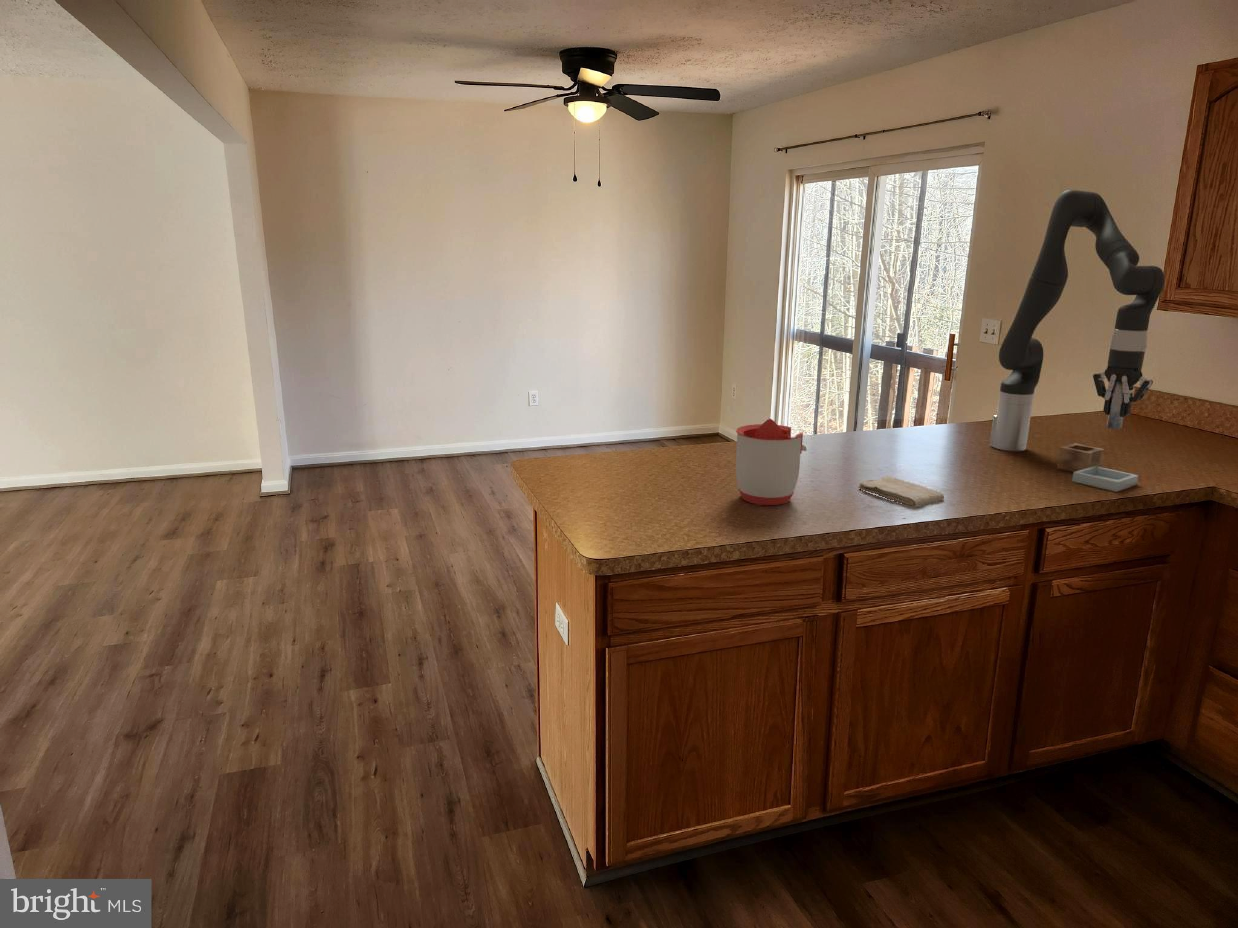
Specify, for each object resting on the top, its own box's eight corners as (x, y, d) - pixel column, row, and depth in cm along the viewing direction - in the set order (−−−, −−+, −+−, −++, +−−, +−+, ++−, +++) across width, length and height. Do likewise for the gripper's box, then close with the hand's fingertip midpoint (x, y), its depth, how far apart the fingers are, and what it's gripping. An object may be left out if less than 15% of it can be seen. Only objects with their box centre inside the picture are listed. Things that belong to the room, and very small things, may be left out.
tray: (1072, 481, 213) (1073, 472, 212) (1092, 474, 219) (1094, 465, 218) (1116, 491, 204) (1118, 482, 203) (1136, 484, 210) (1138, 475, 209)
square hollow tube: (1056, 468, 225) (1059, 447, 223) (1071, 463, 229) (1074, 443, 228) (1086, 474, 219) (1089, 453, 217) (1100, 470, 223) (1104, 449, 221)
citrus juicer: (817, 505, 192) (823, 423, 187) (750, 512, 187) (754, 427, 182) (785, 486, 206) (790, 410, 201) (722, 492, 202) (726, 413, 196)
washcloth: (885, 484, 211) (886, 472, 210) (946, 502, 197) (947, 490, 196) (854, 491, 205) (855, 479, 204) (915, 510, 190) (916, 498, 189)
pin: (1104, 427, 208) (1112, 380, 205) (1110, 425, 210) (1118, 379, 206) (1117, 429, 205) (1125, 382, 202) (1123, 427, 207) (1131, 381, 204)
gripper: (1091, 346, 205) (1080, 412, 210) (1151, 352, 194) (1139, 422, 199) (1105, 344, 210) (1094, 409, 214) (1165, 350, 198) (1152, 418, 203)
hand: (1116, 415), depth 207 cm, fingers closed on pin, 3 cm apart
